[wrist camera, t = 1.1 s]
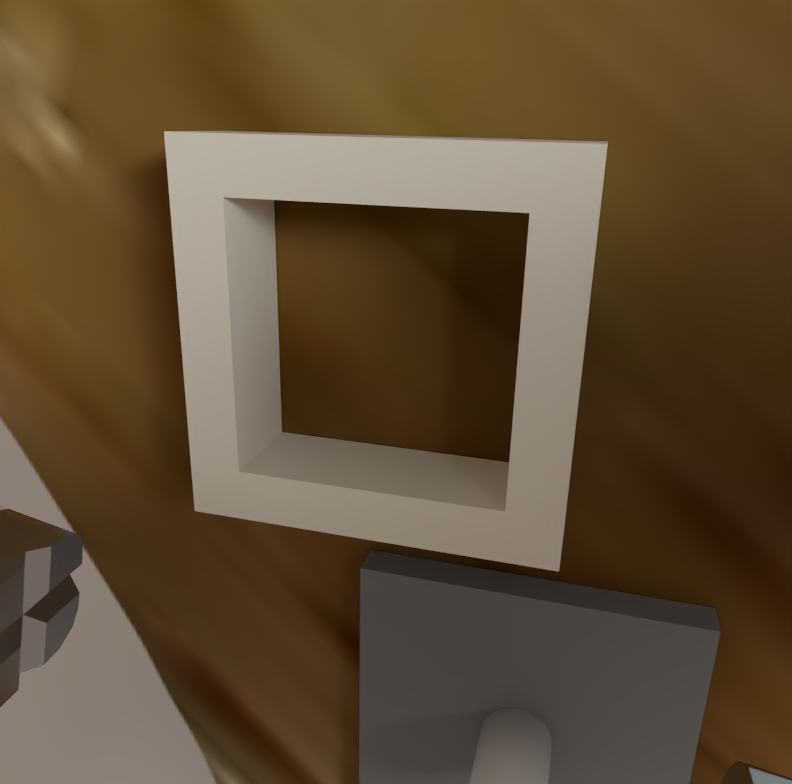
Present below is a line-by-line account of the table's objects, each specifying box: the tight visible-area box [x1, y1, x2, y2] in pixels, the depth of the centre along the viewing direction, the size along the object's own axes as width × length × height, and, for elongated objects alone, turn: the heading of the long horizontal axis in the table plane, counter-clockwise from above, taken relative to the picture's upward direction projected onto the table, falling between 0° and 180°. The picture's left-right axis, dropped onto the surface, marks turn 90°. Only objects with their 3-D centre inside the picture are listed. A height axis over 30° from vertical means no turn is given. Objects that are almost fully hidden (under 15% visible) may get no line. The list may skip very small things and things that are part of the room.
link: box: [164, 131, 608, 572], centre depth 27 cm, size 14×14×4 cm
